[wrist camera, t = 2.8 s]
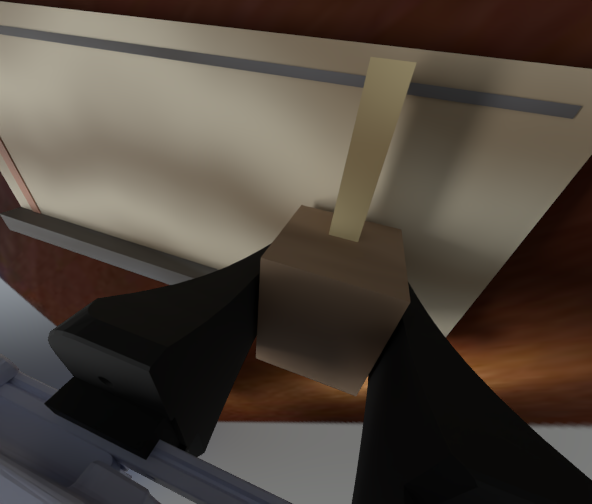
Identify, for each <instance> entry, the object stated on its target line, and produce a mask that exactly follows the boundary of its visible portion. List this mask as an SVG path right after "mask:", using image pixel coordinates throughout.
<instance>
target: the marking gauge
mask: <svg viewBox="0 0 592 504" xmlns="http://www.w3.org/2000/svg"><path fill="white" fill-rule="evenodd" d="M416 63H417V62H409V61H401V60H392V59H384V58H376V57H371V58H370V62H369V66H368V70H367V75H366V79H365V83H364V87H363V91H362V96H361V100H360V104H359V108H358V113H357V117H356V121H355V125H354V129H353V134H352V138H351V142H350V146H349V151H348V155H347V159H346V163H345V167H344V172H343V176H342V180H341V184H340V189H339V193H338V197H337V201H336V205H335V210H334V213H332V212H328V211H324V210H320V209H316V208H312V207H308V206H304V205H301V206H300V207H299V209H298V210H297V211H296V212H295V214H294V215H293V216H292V218H291V219H290V220H289V222H288V223H287V224H286V225H285V227H284V228H283V229H282V231H281V232H280V233H279V235H278V236H277V237H276V238H275V240H274V241H273V242H272V244H271V245H270V246H269V247H268V249H267V250H266V251H265V253H264V254H263V255H262V257H261V262H260V283H259V303H258V324H257V345H256V358H257V359H259V360H262V361H265V362H267V363H270V364H272V365H275V366H278V367H280V368H283V369H286V370H288V371H291V372H294V373H296V374H299V375H301V376H304V377H307V378H309V379H312V380H315V381H317V382H320V383H322V384H325V385H328V386H330V387H333V388H336V389H338V390H341V391H344V392H346V393H349V394H351V395H354V396H356V395H357V394H358V392H359V390H360V389H361V387H362V385H363V383H364V382H365V380H366V378H367V376H368V375H369V373H370V371H371V369H372V368H373V366H374V364H375V363H376V361H377V359H378V357H379V356H380V354H381V352H382V350H383V349H384V347H385V345H386V344H387V342H388V340H389V338H390V337H391V335H392V333H393V331H394V330H395V328H396V326H397V325H398V323H399V321H400V319H401V318H402V316H403V314H404V312H405V311H406V309H407V307H408V306H409V304H410V294H409V286H408V278H407V270H406V262H405V255H404V247H403V239H402V231H401V229H397V228H393V227H389V226H385V225H381V224H377V223H373V222H369V221H365V219H366V216H367V213H368V210H369V207H370V204H371V201H372V198H373V195H374V192H375V189H376V186H377V183H378V179H379V176H380V173H381V170H382V167H383V164H384V161H385V158H386V155H387V152H388V149H389V146H390V143H391V140H392V137H393V134H394V131H395V127H396V124H397V121H398V118H399V115H400V112H401V109H402V106H403V103H404V100H405V97H406V94H407V91H408V88H409V85H410V82H411V79H412V75H413V72H414V69H415V66H416Z"/></svg>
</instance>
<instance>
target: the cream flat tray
mask: <svg viewBox="0 0 592 504" xmlns="http://www.w3.org/2000/svg"><path fill="white" fill-rule="evenodd" d="M371 57H376V58H384V59H392V60H401V61H409V62H417V63H416V66H415V69H414V72H413V75H412V79H411V82H410V85H409V88H408V91H407V94H406V97H405V100H404V103H403V106H402V109H401V112H400V115H399V118H398V121H397V124H396V127H395V131H394V134H393V137H392V140H391V143H390V146H389V149H388V152H387V155H386V158H385V161H384V164H383V167H382V170H381V173H380V176H379V179H378V183H377V186H376V189H375V192H374V195H373V198H372V201H371V204H370V207H369V210H368V213H367V216H366V219H365V221H369V222H373V223H377V224H381V225H385V226H389V227H393V228H397V229H401V231H402V239H403V247H404V255H405V262H406V270H407V278H408V282H409V284H410V285H411V287H412V289H413V290H414V292H415V294H416V295H417V297H418V299H419V300H420V302H421V303H422V305H423V307H424V308H425V310H426V311H427V313H428V314H429V316H430V317H431V318H432V320H433V321H434V323H435V324H436V325H437V327H438V328H439V330H440V331H441V332H442V334H443V335H444V336H445V337H446V336H447V335H448V334H449V332H450V331H451V330H452V329H453V327H454V326H455V325H456V324H457V322H458V321H459V320H460V319H461V317H462V316H463V315H464V314H465V312H466V311H467V310H468V309H469V307H470V306H471V305H472V304H473V302H474V301H475V300H476V299H477V297H478V296H479V295H480V294H481V292H482V291H483V290H484V289H485V287H486V286H487V285H488V284H489V282H490V281H491V280H492V279H493V277H494V276H495V275H496V274H497V272H498V271H499V270H500V269H501V267H502V266H503V265H504V264H505V262H506V261H507V260H508V259H509V257H510V256H511V255H512V254H513V252H514V251H515V250H516V249H517V247H518V246H519V245H520V244H521V242H522V241H523V240H524V239H525V237H526V236H527V235H528V234H529V232H530V231H531V230H532V229H533V227H534V226H535V225H536V224H537V222H538V221H539V220H540V219H541V217H542V216H543V215H544V214H545V212H546V211H547V210H548V209H549V207H550V206H551V205H552V204H553V202H554V201H555V200H556V199H557V197H558V196H559V195H560V194H561V192H562V191H563V190H564V189H565V187H566V186H567V185H568V184H569V182H570V181H571V180H572V179H573V177H574V176H575V175H576V174H577V172H578V171H579V170H580V169H581V167H582V166H583V165H584V164H585V162H586V161H587V160H588V159H589V157H590V156H591V155H592V69H587V68H578V67H569V66H561V65H552V64H543V63H534V62H526V61H517V60H508V59H499V58H491V57H482V56H473V55H464V54H456V53H447V52H438V51H429V50H421V49H412V48H403V47H395V46H386V45H377V44H368V43H360V42H351V41H342V40H333V39H325V38H316V37H307V36H298V35H290V34H281V33H272V32H263V31H255V30H246V29H237V28H228V27H220V26H211V25H202V24H193V23H185V22H176V21H167V20H159V19H150V18H141V17H132V16H124V15H115V14H106V13H97V12H89V11H80V10H71V9H62V8H54V7H45V6H36V5H27V4H19V3H10V2H1V1H0V171H1V173H2V175H3V176H4V178H5V180H6V181H7V183H8V185H9V186H10V188H11V190H12V192H13V193H14V195H15V197H16V198H17V200H18V202H19V204H20V205H21V207H20V208H17V209H14V210H10V211H7V212H4V213H0V215H1V217H2V218H3V220H4V222H5V223H6V225H7V226H8V228H9V229H10V230H13V231H16V232H18V233H21V234H24V235H27V236H30V237H33V238H36V239H39V240H42V241H45V242H48V243H50V244H53V245H56V246H59V247H62V248H65V249H68V250H71V251H74V252H77V253H79V254H82V255H85V256H88V257H91V258H94V259H97V260H100V261H103V262H106V263H109V264H111V265H114V266H117V267H120V268H123V269H126V270H129V271H132V272H135V273H138V274H140V275H143V276H146V277H149V278H152V279H155V280H158V281H161V282H164V283H167V284H170V285H173V284H177V283H181V282H184V281H187V280H191V279H194V278H197V277H201V276H204V275H207V274H209V273H212V272H215V271H217V270H220V269H222V268H225V267H227V266H229V265H231V264H234V263H236V262H238V261H240V260H242V259H244V258H246V257H248V256H250V255H252V254H253V253H255V252H257V251H259V250H261V249H262V248H264V247H266V246H268V245H269V244H271V243H272V242H273V241H274V240H275V238H276V237H277V236H278V235H279V233H280V232H281V231H282V229H283V228H284V227H285V225H286V224H287V223H288V222H289V220H290V219H291V218H292V216H293V215H294V214H295V212H296V211H297V210H298V209H299V207H300V206H301V205H304V206H308V207H312V208H316V209H320V210H324V211H328V212H332V213H334V210H335V205H336V201H337V197H338V193H339V189H340V184H341V180H342V176H343V172H344V167H345V163H346V159H347V155H348V151H349V146H350V142H351V138H352V134H353V129H354V125H355V121H356V117H357V113H358V108H359V104H360V100H361V96H362V91H363V87H364V83H365V79H366V75H367V70H368V66H369V62H370V58H371Z"/></svg>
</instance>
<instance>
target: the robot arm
mask: <svg viewBox="0 0 592 504" xmlns="http://www.w3.org/2000/svg"><path fill="white" fill-rule="evenodd" d="M271 244H272V243H271ZM271 244H269V245H268V246H266V247H264V248H262V249H261V250H259V251H257V252H255V253H253V254H252V255H250V256H248V257H246V258H244V259H242V260H240V261H238V262H236V263H234V264H231V265H229V266H227V267H225V268H222V269H220V270H217V271H215V272H212V273H209V274H207V275H204V276H201V277H197V278H194V279H191V280H187V281H184V282H181V283H177V284H173V285H169V286H165V287H161V288H156V289H152V290H147V291H142V292H136V293H130V294H124V295H117V296H111V297H104V298H97V299H96V300H94V301H93V302H92V303H90V304H89V305H87V306H86V307H84V308H83V309H82V310H80V311H79V312H77V313H76V314H74V315H73V316H72V317H70V318H69V319H67V320H66V321H64V322H63V323H62V324H60V325H59V326H57V327H56V328H55V329H53V330H52V331H50V333H49V337H48V341H49V344H50V346H51V348H52V349H53V351H54V352H55V354H56V355H57V356H58V357H59V359H60V360H61V361H62V362H63V363H64V365H65V366H66V367H67V368H68V370H69V371H70V372H71V373H72V375H73V376H74V377H73V378H72V379H71V380H69V381H68V383H66V384H65V385H64V386H63V387H62V388H61V389H59V390H56V389H54V388H52V387H50V386H48V385H46V384H44V383H42V382H40V381H38V380H36V379H34V378H32V377H29V376H27V375H25V374H23V373H21V372H19V369H18V368H17V366H16V365H14V364H13V362H11V361H10V360H9V359H8V358H6V357H5V356H3V355H2V354H0V504H161V503H160V502H158V501H157V500H156V499H155V498H154V497H153V496H151V494H150V493H149V491H148V489H146V488H145V487H143V486H141V485H140V484H138V483H136V482H135V481H133V480H131V478H132V477H131V476H130V475H129V474H127V473H126V472H124V471H128V470H129V468H130V469H131V470H134V471H135V472H137V473H139V474H141V475H143V476H145V477H147V478H149V479H151V480H153V481H154V482H156V483H158V484H160V485H162V486H164V487H166V488H168V489H170V490H172V491H174V492H175V493H177V494H179V495H181V496H183V497H185V498H187V499H189V500H191V501H193V502H195V503H197V504H292V503H290V502H288V501H286V500H284V499H282V498H280V497H278V496H276V495H274V494H271V493H269V492H267V491H265V490H263V489H261V488H259V487H257V486H255V485H253V484H251V483H249V482H247V481H245V480H243V479H241V478H239V477H236V476H234V475H232V474H230V473H228V472H226V471H224V470H222V469H220V468H218V467H216V466H214V465H212V464H209V463H207V462H205V461H203V460H201V459H199V458H197V457H198V456H200V455H201V454H203V453H204V452H205V450H206V448H207V445H208V443H209V440H210V438H211V436H212V433H213V431H214V428H215V426H216V424H217V421H218V419H219V416H220V414H221V412H222V409H223V407H224V405H225V402H226V400H227V398H228V395H229V393H230V391H231V389H232V386H233V384H234V382H235V380H236V377H237V375H238V373H239V371H240V369H241V366H242V364H243V362H244V360H245V358H246V356H247V354H248V351H249V349H250V347H251V345H252V343H253V341H254V339H255V337H256V336H257V324H258V303H259V283H260V262H261V257H262V255H263V254H264V253H265V251H266V250H267V249H268V247H269V246H270V245H271ZM408 286H409V294H410V304H409V306H408V307H407V309H406V311H405V312H404V314H403V316H402V318H401V319H400V321H399V323H398V325H397V326H396V328H395V330H394V331H393V333H392V335H391V337H390V338H389V340H388V342H387V344H386V345H385V347H384V349H383V350H382V352H381V354H380V356H379V357H378V359H377V361H376V363H375V364H374V366H373V368H372V369H371V371H370V373H369V375H368V388H367V397H366V406H365V415H364V423H363V431H362V438H361V445H360V453H359V460H358V467H357V474H356V480H355V486H354V493H353V499H352V504H592V480H591V479H589V478H588V477H587V476H586V475H585V474H584V473H582V472H581V471H580V470H579V469H578V468H577V467H575V466H574V465H573V464H572V463H571V462H570V461H568V460H567V459H566V458H565V457H564V456H563V455H561V454H560V453H559V452H558V451H557V450H556V449H554V448H553V447H552V446H551V445H550V444H549V443H547V442H546V441H545V440H544V439H543V438H542V437H541V436H540V435H538V434H537V433H536V432H535V431H534V430H533V429H532V428H531V427H530V426H529V425H528V424H527V423H526V422H524V421H523V420H522V419H521V418H520V417H519V416H518V415H517V414H516V413H515V412H514V411H513V410H512V409H511V408H510V407H509V406H507V405H506V404H505V403H504V402H503V401H502V400H501V399H500V398H499V397H498V396H497V395H496V394H495V393H494V392H493V391H492V390H491V389H490V387H489V386H488V385H487V384H486V383H485V382H484V381H483V380H482V379H481V378H480V377H479V376H478V375H477V374H476V373H475V372H474V371H473V370H472V368H471V367H470V366H469V365H468V364H467V363H466V362H465V361H464V359H463V358H462V357H461V356H460V355H459V353H458V352H457V351H456V350H455V349H454V348H453V346H452V345H451V344H450V343H449V341H448V340H447V339H446V338H445V336H444V335H443V334H442V332H441V331H440V330H439V328H438V327H437V325H436V324H435V323H434V321H433V320H432V318H431V317H430V316H429V314H428V313H427V311H426V310H425V308H424V307H423V305H422V303H421V302H420V300H419V299H418V297H417V295H416V294H415V292H414V290H413V289H412V287H411V285H410V284H409V282H408Z"/></svg>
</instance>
